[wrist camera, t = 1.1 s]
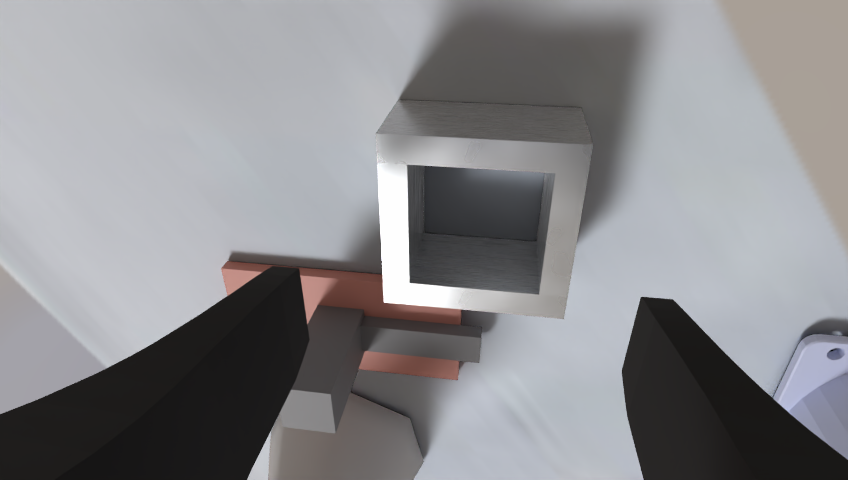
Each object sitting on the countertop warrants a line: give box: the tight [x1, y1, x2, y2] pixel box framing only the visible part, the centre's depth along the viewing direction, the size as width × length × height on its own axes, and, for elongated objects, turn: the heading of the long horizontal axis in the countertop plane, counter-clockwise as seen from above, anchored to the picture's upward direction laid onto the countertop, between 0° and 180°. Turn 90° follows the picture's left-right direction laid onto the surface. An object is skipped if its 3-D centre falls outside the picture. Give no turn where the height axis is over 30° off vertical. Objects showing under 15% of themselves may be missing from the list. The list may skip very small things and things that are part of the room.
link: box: [376, 100, 593, 319], centre depth 16 cm, size 5×5×3 cm
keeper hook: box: [221, 261, 482, 434], centre depth 19 cm, size 10×4×5 cm, turn 90°
